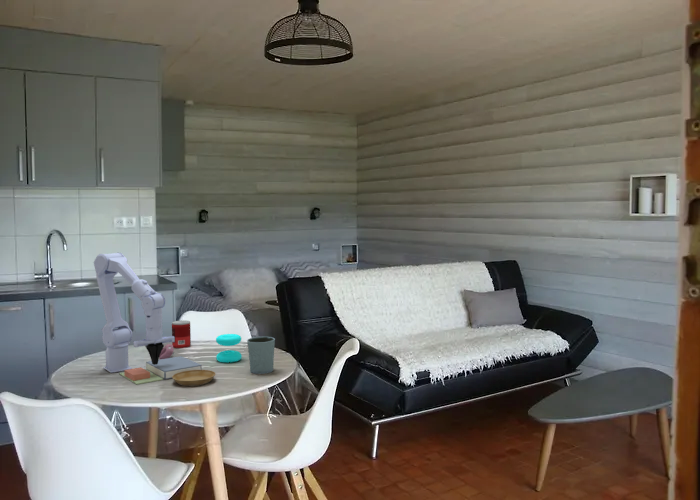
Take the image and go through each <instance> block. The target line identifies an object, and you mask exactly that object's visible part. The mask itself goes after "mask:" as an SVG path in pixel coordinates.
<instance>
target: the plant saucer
mask: <svg viewBox="0 0 700 500" xmlns="http://www.w3.org/2000/svg"><path fill="white" fill-rule="evenodd" d="M216 375H217V373H216V372H215V371H213V370H209V369H202V370H189V371H183V372H179V373H176V374H174V375H173V376H172V378H171V379H173V380H174V382H175V383H177V384H178V385H180V386H185V387H195V386H196V387H197V386H202V385H205V384H208V383H210V382H211V381H212V380H213V379H214V378H215V376H216Z"/></svg>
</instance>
